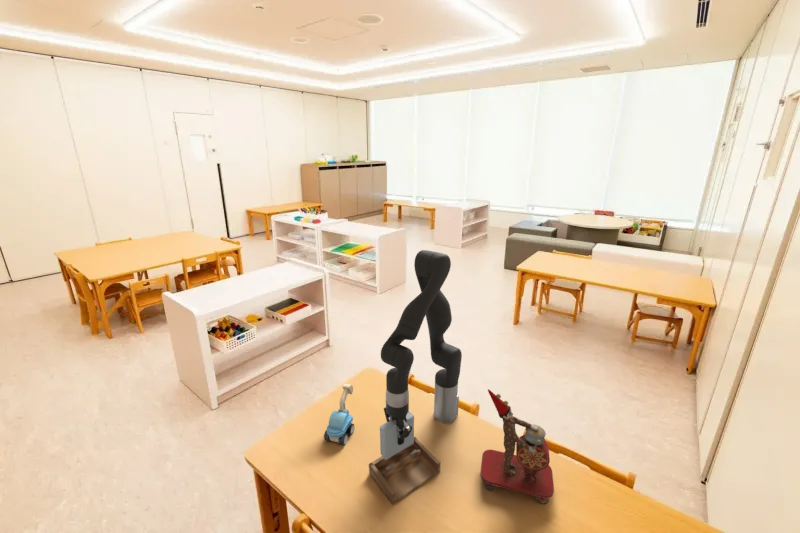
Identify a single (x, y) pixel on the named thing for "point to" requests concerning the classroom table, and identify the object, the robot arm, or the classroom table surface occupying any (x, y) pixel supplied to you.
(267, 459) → the classroom table surface
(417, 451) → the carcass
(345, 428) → the toy excavator
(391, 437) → the blue-gray square slab
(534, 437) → the clown toy
